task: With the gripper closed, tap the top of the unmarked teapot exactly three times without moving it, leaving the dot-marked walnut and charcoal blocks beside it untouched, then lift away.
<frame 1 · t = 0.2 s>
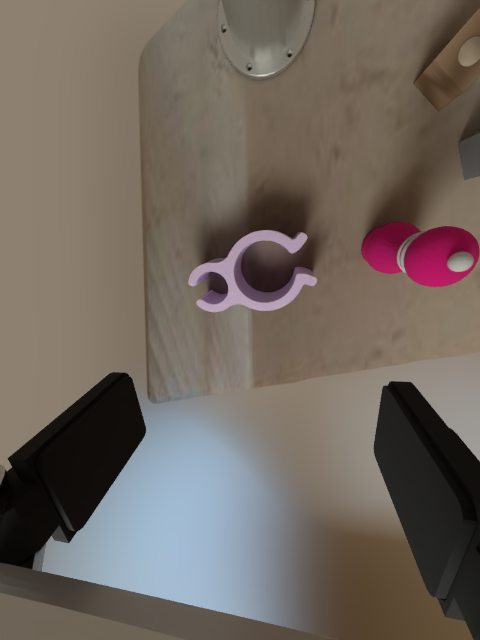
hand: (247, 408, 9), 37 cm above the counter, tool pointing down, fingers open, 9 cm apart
pepper mill: (381, 246, 39), on the counter
walnut block: (443, 78, 31), on the counter
clip: (253, 270, 45), on the counter
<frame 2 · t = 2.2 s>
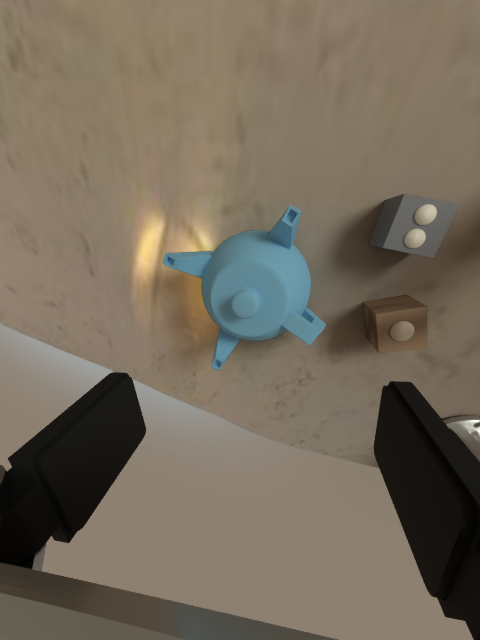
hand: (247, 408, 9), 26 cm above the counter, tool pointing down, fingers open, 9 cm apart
charcoal block: (398, 227, 28), on the counter
walnut block: (385, 316, 32), on the counter
teapot: (256, 282, 34), on the counter
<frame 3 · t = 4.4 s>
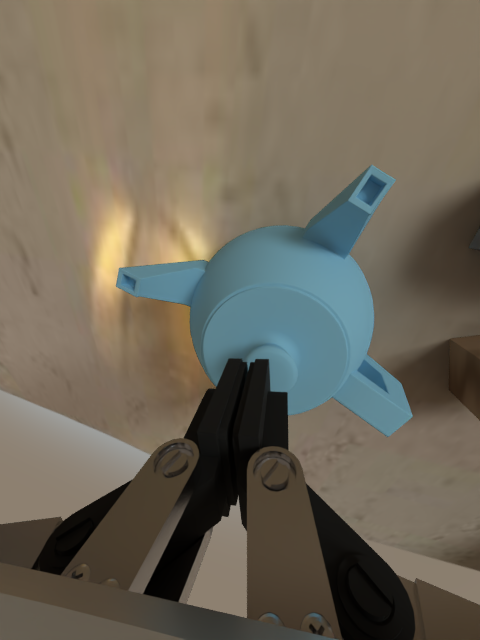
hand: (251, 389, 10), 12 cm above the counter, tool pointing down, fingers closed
teapot: (275, 306, 22), on the counter
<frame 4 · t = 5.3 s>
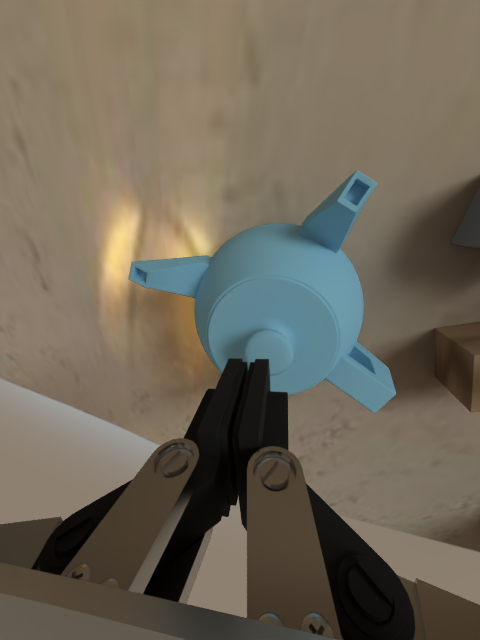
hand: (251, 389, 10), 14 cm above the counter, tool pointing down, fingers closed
walnut block: (466, 348, 21), on the counter
teapot: (274, 299, 23), on the counter
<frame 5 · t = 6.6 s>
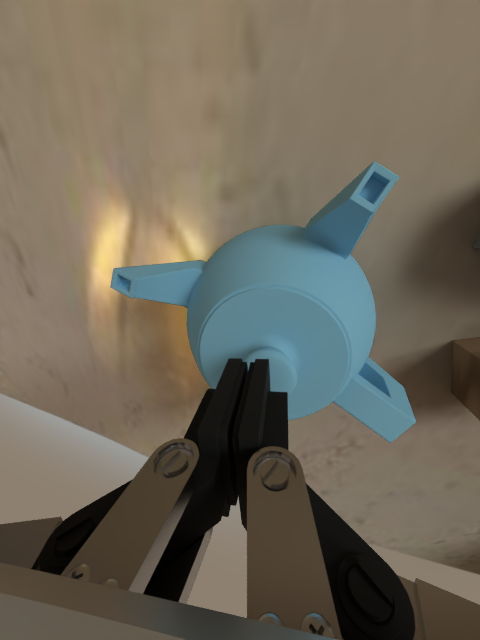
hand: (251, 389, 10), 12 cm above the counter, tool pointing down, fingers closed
teapot: (275, 307, 21), on the counter
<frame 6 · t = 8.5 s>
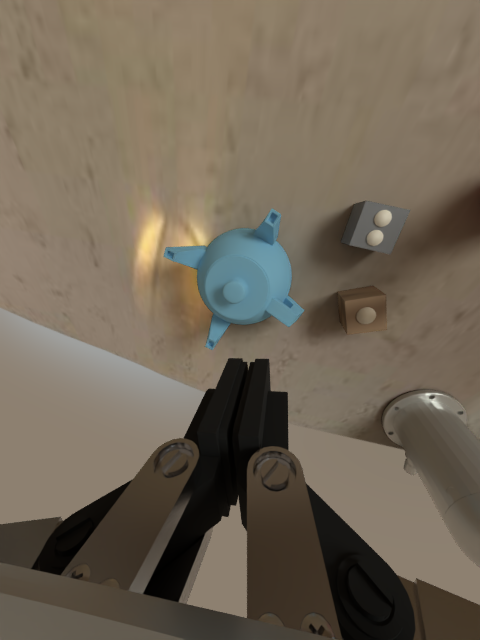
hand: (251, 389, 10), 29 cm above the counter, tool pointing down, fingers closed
charcoal block: (365, 227, 33), on the counter
walnut block: (355, 304, 37), on the counter
teapot: (245, 274, 38), on the counter
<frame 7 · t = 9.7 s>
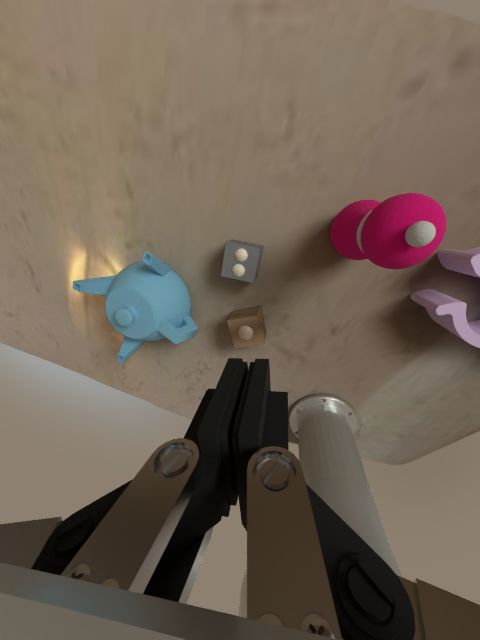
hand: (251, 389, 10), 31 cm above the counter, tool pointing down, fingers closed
pepper mill: (351, 230, 35), on the counter
charcoal block: (245, 258, 39), on the counter
walnut block: (249, 321, 43), on the counter
teapot: (157, 297, 45), on the counter
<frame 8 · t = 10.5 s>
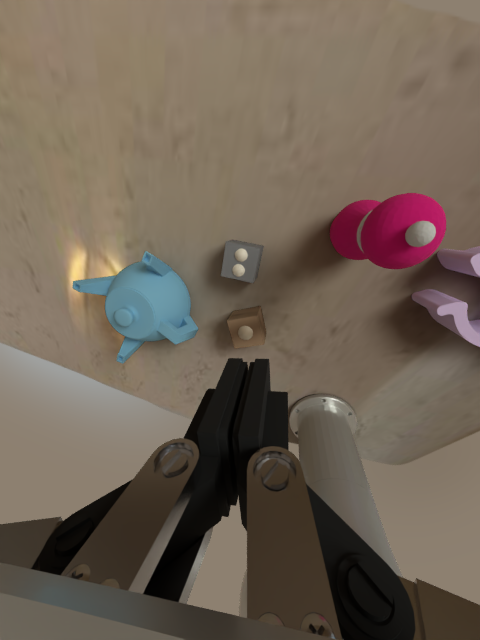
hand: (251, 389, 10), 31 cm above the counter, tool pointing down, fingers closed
pepper mill: (351, 230, 35), on the counter
charcoal block: (245, 258, 39), on the counter
walnut block: (249, 321, 43), on the counter
teapot: (157, 297, 45), on the counter
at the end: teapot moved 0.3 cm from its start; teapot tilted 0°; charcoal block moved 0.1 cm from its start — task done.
